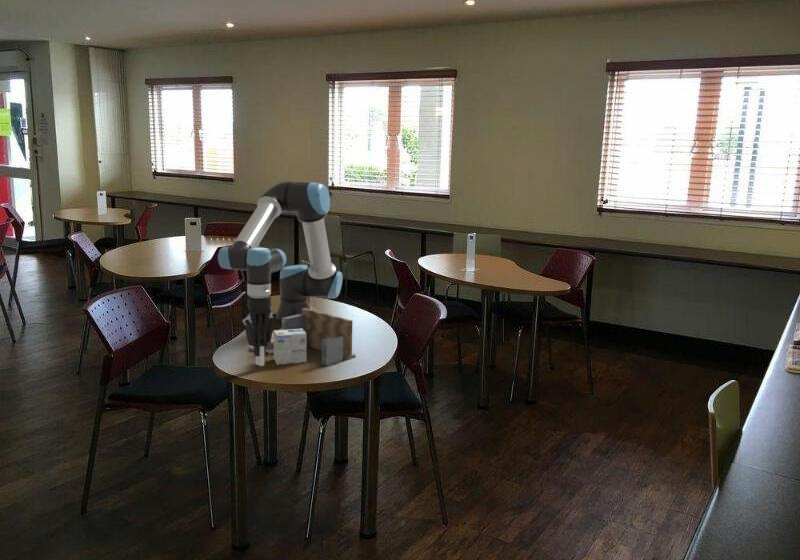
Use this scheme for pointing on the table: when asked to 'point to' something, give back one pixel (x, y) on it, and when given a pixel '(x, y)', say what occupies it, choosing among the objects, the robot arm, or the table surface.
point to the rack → (321, 329)
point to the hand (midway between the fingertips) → (260, 364)
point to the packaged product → (270, 345)
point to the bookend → (332, 350)
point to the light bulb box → (289, 346)
